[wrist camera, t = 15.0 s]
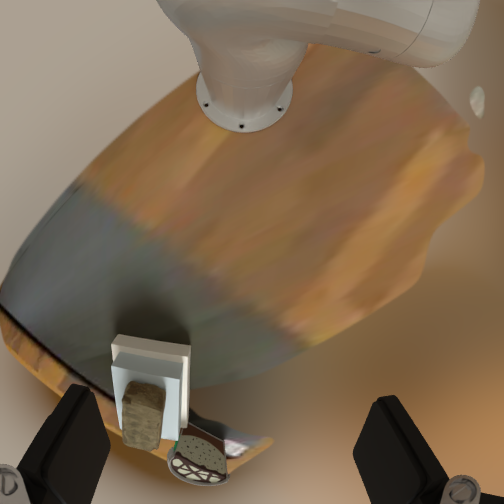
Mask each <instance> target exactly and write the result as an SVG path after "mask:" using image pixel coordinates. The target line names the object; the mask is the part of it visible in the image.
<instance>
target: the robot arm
mask: <svg viewBox="0 0 504 504" xmlns="http://www.w3.org/2000/svg"><path fill="white" fill-rule="evenodd" d="M157 2H158V4H159V6H160V7H161V9H162V10H163V12H164V13H165V14H166V16H167V17H168V18H169V19H170V20H171V21H172V22H173V23H174V25H175V26H176V27H177V28H178V29H179V30H180V31H182V32H183V33H184V34H185V35H186V36H187V37H188V38H189V40H190V42H191V45H192V47H193V50H194V53H195V56H196V59H197V62H198V65H199V68H200V70H201V72H200V74H199V76H198V79H197V84H196V94H197V99H198V102H199V105H200V107H201V109H202V110H203V112H204V114H205V115H206V116H207V117H208V118H209V119H210V120H211V121H212V122H214V123H215V124H216V125H218V126H220V127H222V128H224V129H226V130H229V131H233V132H240V133H248V132H255V131H259V130H263V129H265V128H267V127H269V126H271V125H272V124H274V123H275V122H277V121H278V120H279V119H280V118H281V117H282V116H283V115H284V113H285V112H286V110H287V108H288V107H289V105H290V102H291V98H292V93H293V85H292V79H291V78H292V76H293V75H294V73H295V71H296V70H297V68H298V66H299V64H300V63H301V61H302V59H303V57H304V55H305V53H306V50H307V47H308V43H311V44H316V43H318V44H323V45H328V46H333V47H338V48H343V49H347V50H351V51H356V52H360V53H364V54H367V55H371V56H375V57H378V58H382V59H386V60H389V61H392V62H396V63H400V64H403V65H407V66H412V67H419V68H429V67H435V66H439V65H442V64H444V63H445V62H447V61H448V60H450V59H451V58H453V57H454V56H455V55H456V54H457V53H458V52H459V50H460V49H461V48H462V46H463V45H464V43H465V42H466V40H467V38H468V36H469V34H470V32H471V30H472V27H473V24H474V22H475V18H476V15H477V11H478V7H479V2H480V0H157ZM206 104H208V107H205V105H206ZM278 109H281V111H280V112H279V111H278ZM240 125H243V126H244V127H243V128H240ZM110 446H111V445H110V440H109V437H108V434H107V432H106V429H105V426H104V423H103V420H102V417H101V414H100V411H99V408H98V404H97V401H96V398H95V395H94V393H93V392H91V391H90V389H89V388H88V387H86V386H82V385H77V384H71V385H70V387H69V388H68V390H67V391H66V393H65V394H64V396H63V397H62V399H61V400H60V402H59V403H58V405H57V407H56V408H55V409H54V411H53V412H52V414H51V415H49V416H48V418H47V419H46V420H45V422H44V424H43V425H42V427H41V428H40V430H39V432H38V433H37V435H36V436H35V438H34V440H33V441H32V443H31V445H30V446H29V448H28V450H27V451H26V453H25V454H24V456H23V458H22V460H21V461H20V463H19V465H18V467H17V468H14V467H12V466H10V465H7V464H0V504H91V501H92V498H93V496H94V493H95V489H96V487H97V484H98V481H99V478H100V476H101V473H102V470H103V467H104V465H105V462H106V459H107V457H108V454H109V451H110ZM353 457H354V460H355V463H356V465H357V468H358V470H359V473H360V475H361V478H362V481H363V483H364V486H365V488H366V491H367V494H368V496H369V499H370V502H371V504H504V497H500V496H495V495H490V494H485V493H481V490H480V486H479V484H478V483H477V481H476V480H475V479H473V478H472V477H470V476H467V475H457V476H454V477H453V478H451V479H449V477H448V476H447V474H446V472H445V471H444V469H443V467H442V466H441V464H440V463H439V461H438V459H437V458H436V456H435V455H434V453H433V452H432V450H431V448H430V447H429V446H428V444H427V442H426V441H425V439H424V438H423V436H422V435H421V433H420V431H419V430H418V428H417V427H416V425H415V424H414V422H413V420H412V419H411V417H410V416H409V414H408V413H407V411H406V410H405V409H404V407H403V405H402V404H401V403H400V401H399V399H398V398H397V397H396V396H395V395H390V396H383V397H379V398H378V399H377V401H376V402H374V403H373V404H372V406H371V409H370V412H369V414H368V417H367V419H366V421H365V424H364V426H363V429H362V431H361V433H360V436H359V438H358V440H357V442H356V445H355V447H354V449H353Z"/></svg>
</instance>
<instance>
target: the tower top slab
mask: <svg viewBox="0 0 504 504" xmlns="http://www.w3.org/2000/svg"><path fill="white" fill-rule="evenodd" d="M183 364H184V363H178V362H172V361H166V360H161V359H155V358H150V357H145V356H140V355H135V354H130V353H125V352H121V351H120V352H119V354H118V355H117V357H116V359H115V360H114V362H113V364H112V365H111V367H112V377H113V385H114V393H115V400H116V407H117V413H118V419H119V425H120V429H122V398H123V395H124V392H125V388H126V386H127V384H128V383H129V382H130V381H135V382H138V383H142V384H144V383H148V384H153V385H156V386H158V387H159V388H161V389H164V390H165V391H166V403H165V409H164V414H163V424H162V434H161V438H164V439H170V440H175V441H178V439H179V433H180V428H181V408H182V383H183Z"/></svg>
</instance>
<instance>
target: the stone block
mask: <svg viewBox="0 0 504 504" xmlns="http://www.w3.org/2000/svg"><path fill="white" fill-rule="evenodd" d="M165 403H166V391H165V390H164V389H161V388H159V387H158V386H156V385H153V384H148V383H144V384H142V383H138V382H135V381H130V382H129V383H128V384H127V386H126V388H125V392H124V395H123V398H122V435H123V443H124V444H125V445H127V446H129V447H134V448H138V449H143V450H146V451H152V450H153V449H156V450H157V449H158V448H159V443H160V439H161V434H162V424H163V414H164V409H165Z"/></svg>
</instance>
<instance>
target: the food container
mask: <svg viewBox="0 0 504 504" xmlns="http://www.w3.org/2000/svg"><path fill="white" fill-rule="evenodd" d="M167 461H168V466H169V468H170V471H171V472H172V473H173V474H174V475H175V476H176V477H177V478H179V479H181V480H183V481H185V482H188V483H191V484H195V485H202V486H214V485H220V484H223V483H226V482H228V480H229V478H230V474H228V473H227V463H226V453H225V443H224V441H223V440H221V439H219V438H217V437H215V436H213V435H211V434H209V433H208V432H206V431H204V430H202V429H200V428H198V427H197V426H195V425H193V424H191V423H189V422H188V424H187V428H182V427H181V428H180V433H179V439H178V441H176V442H175V445H174V448H173V447H172V448H171V449H170V450H169V451H168V454H167Z"/></svg>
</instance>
